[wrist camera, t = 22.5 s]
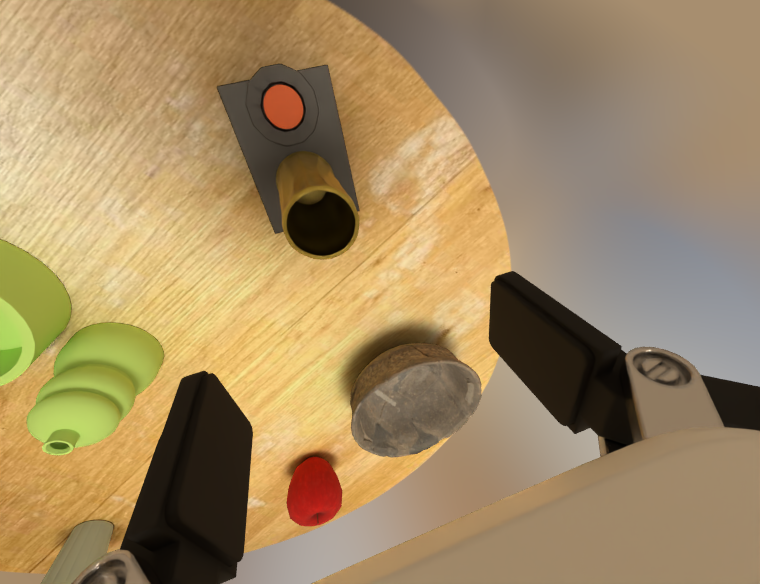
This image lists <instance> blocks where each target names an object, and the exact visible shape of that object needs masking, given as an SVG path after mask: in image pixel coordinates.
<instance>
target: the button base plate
mask: <svg viewBox="0 0 760 584" xmlns="http://www.w3.org/2000/svg"><path fill="white" fill-rule="evenodd" d="M275 85H286V86H288V87H290V88H292V89H293V90H294V91H295V92H296V93H297V94H298V95H299V97H300V99H301V101H302V104H303V116H302V119H301V121H300V122H299V124H298V125H297V126H295V127H293V128H291V129H283V128H279V127H277V126H276V125H274V124H273V123H272V122H271V121H270V120H269V119H268V117H267V115H266V113H265V110H264V97H265V94H266V92H267V91H268V90H269V89H270V88H271V87H273V86H275ZM217 89H218V92H219V94H220V97H221V99H222V102H223V104H224V107H225V109H226V112H227V114H228V117H229V119H230V122H231V124H232V127H233V129H234V132H235V134H236V137H237V139H238V142H239V144H240V147H241V149H242V152H243V154H244V157H245V159H246V162H247V164H248V167H249V169H250V172H251V174H252V177H253V179H254V182H255V184H256V187H257V190H258V192H259V195H260V197H261V200H262V202H263V205H264V207H265V210H266V212H267V215H268V217H269V220H270V222H271V225H272V227H273V230H274V232H275V234H277V233H280V232H284V231H283V227H282V213H281V205H280V198H279V191H278V189H277V185H276V174H277V170H278V167H279V165H280V164H281V162H282V161H283V160H284V159H285V158H286V157H287V156H289V155H290V154H292V153H295V152H298V151H307V152H312V153H315V154H317V155H319V156H320V157H322V158H323V159H324V160H326V162H327V163H328V164H329V165H330V167H331V168H332V171H333V173H334V177H335V178H336V179H337V180H338V181H339V183H340V185H341V186H342V188H343V189H344V190H345V191H346V193H347V194H348V195H349V196H350V197H351V199H352V200H353V202H354V204H355V207H356V210H357V212H358V211H359V206H358V202H357V197H356V192H355V188H354V183H353V179H352V174H351V170H350V165H349V160H348V156H347V151H346V147H345V142H344V138H343V133H342V128H341V124H340V119H339V115H338V110H337V106H336V101H335V96H334V92H333V87H332V83H331V78H330V73H329V69H328V65H322V66H317V67H312V68H307V69H302V70H297V71H296V70H294V69H292V68H290V67H287V66H285V65H283V64H275V65H270V66H265V67H261V68H260V69H259V70H258V71H257V72H256V74H255V75H254V76H253V77H252V78H251V79H250V80H246V81H241V82H236V83H231V84H226V85H221V86H217Z"/></svg>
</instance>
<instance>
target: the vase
mask: <svg viewBox="0 0 760 584" xmlns="http://www.w3.org/2000/svg"><path fill="white" fill-rule="evenodd" d="M276 185H277V189H278V191H279V198H280V205H281V213H282V227H283V231H284V234H285V236H286V238H287V240H288V242H289V244H290V245H291V246H292V247H293V248H294V249H295V250H296V251H298V252H299V253H301V254H303V255H305V256H308V257H310V258H313V259H332V258H334V257H337V256H339V255H341V254H343V253H344V252H346V251H347V250H348V249H349V248H350V247H351V246H352V245H353V243H354V241H355V240H356V238H357V235H358V230H359V215H358V212H357V210H356V207H355V204H354V202H353V200H352V199H351V197H350V196H349V195H348V194H347V193H346V191H345V190H344V189H343V188H342V186H341V185H340V183H339V181H338V180H337V179H336V178H335V177H334V173H333V171H332V168H331V167H330V165H329V164H328V163H327V162H326V160H324V159H323V158H322V157H320V156H319V155H317V154H315V153H312V152H307V151H298V152H295V153H292V154H290V155H289V156H287V157H286V158H285V159H284V160H283V161H282V162H281V164H280V165H279V167H278V170H277V174H276Z"/></svg>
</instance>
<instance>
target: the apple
mask: <svg viewBox="0 0 760 584" xmlns="http://www.w3.org/2000/svg"><path fill="white" fill-rule="evenodd" d="M341 504H342V489H341V486H340V483H339V480H338V477H337V475H336V473H335V472H334V470H333V468H332V467H331V465H330V464H329V462H328V461H326V460H324V459H322V458H320V457H315V456H314V457H310V458H308V459H306V460H305V461H304V462H303V463H301V464H300V465H299V466H298V467H297V468H296V470H295V471H294V474H293V477H292V479H291V482H290V485H289V489H288V496H287V508H288V512H289V515H290V519H292V520H293V521H294V522H296V523H297V524H299V525H301V526H316V525H321V524H323V523H325V522H327V521H329V520H330V519H332V518H333V517H334V516H335V515H336V513H337V512H338V511H339V509H340V508H341Z"/></svg>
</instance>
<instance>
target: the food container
mask: <svg viewBox="0 0 760 584" xmlns="http://www.w3.org/2000/svg"><path fill="white" fill-rule="evenodd" d="M70 316H71V303H70V298H69V296H68V294H67V291H66V289H65V287H64V285H63V284H62V283H61V282H60V280H59V279H58V278H57V277H56V275H55V274H54V273H53V272H52V271H51V270H50V269H48V268H47V267H46V266H45V265H44V264H43V263H42V262H40V261H39V260H37V259H36V258H34V257H33V256H31V255H30V254H28V253H27V252H26V251H24V250H22V249H20V248H18V247H16V246H14V245H12V244H10V243H8V242H6V241H3V240H0V386H2V385H4V384H7V383H9V382H11V381H12V380H14V379H15V378H17V377H19V376H20V375H21V374H22V373H23V372H24V371H25V370H26V369H27V368H28V367H29V366H30V365H31V364H32V363H33V362H34V361H35V360H36V359H37V358H38V357H39V356H40V354H41V353H42V352H43V351H44V350H45V349H46V348H47V347H48V346H49V345H50V344H51V343H52V342H53V341H54V340H55V339H56V338H57V337H58V336H59V334H60V333H61V332H62V331H63V330H64V329H65V328H66V326H67V324H68V322H69V320H70ZM163 359H164V352H163V349H162V346H161V345H160V343H159V342H158V341H157V340H156V339H155V338H154V337H153V336H152V335H151V334H149V333H148V332H146V331H144V330H142V329H140V328H137V327H134V326H131V325H127V324H121V323H99V324H95V325H90V326H88V327H85V328H83V329H81V330H80V331H78V332H77V333H76V334H75V335H74V336H73V337H72V338H71V339H70V340H69V341H68V342H67V344H66V345H65V346H64V347H63V348H62V349H61V351H60V352H59V354H58V356H57V358H56V361H55V364H54V377H53V378H52V379H50V380H49V381H48V382H47V383H46V384H45V385H44V386H43V387H42V388H41V390H40V392H39V394H38V396H37V398H36V405H35V406H34V407H33V408H32V409H31V411H30V412H29V414H28V416H27V427H28V430H29V432H30V433H31V435H32V436H33V437H35V438H36V439H37V440H39V441H41V442H43V443H45V444H44V445H43V447H42V449H43V451H44V452H46V453H48V454H51V455H65V454H68V453H70V452H71V451H72V450H73V449H74V448H76V447H83V446H89V445H92V444H95V443H98V442H100V441H102V440H103V439H105V438H106V437H108V436H109V435H111V434H112V433H113V432H114V431H115V430H116V428H117V427H118V424H119V422H120V421H121V420H122V419H123V418H124V417H125V416H126V415H127V414H128V413H129V412H130V410H131V408H132V407H133V404H134V401H135V396H137V395H138V394H140V393H141V392H143V391H144V390H145V389H146V388H147V387H148V386H149V385H150V384H151V383H152V382H153V380H154V379H155V377H156V375H157V374H158V371H159V369H160V367H161V365H162V362H163Z"/></svg>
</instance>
